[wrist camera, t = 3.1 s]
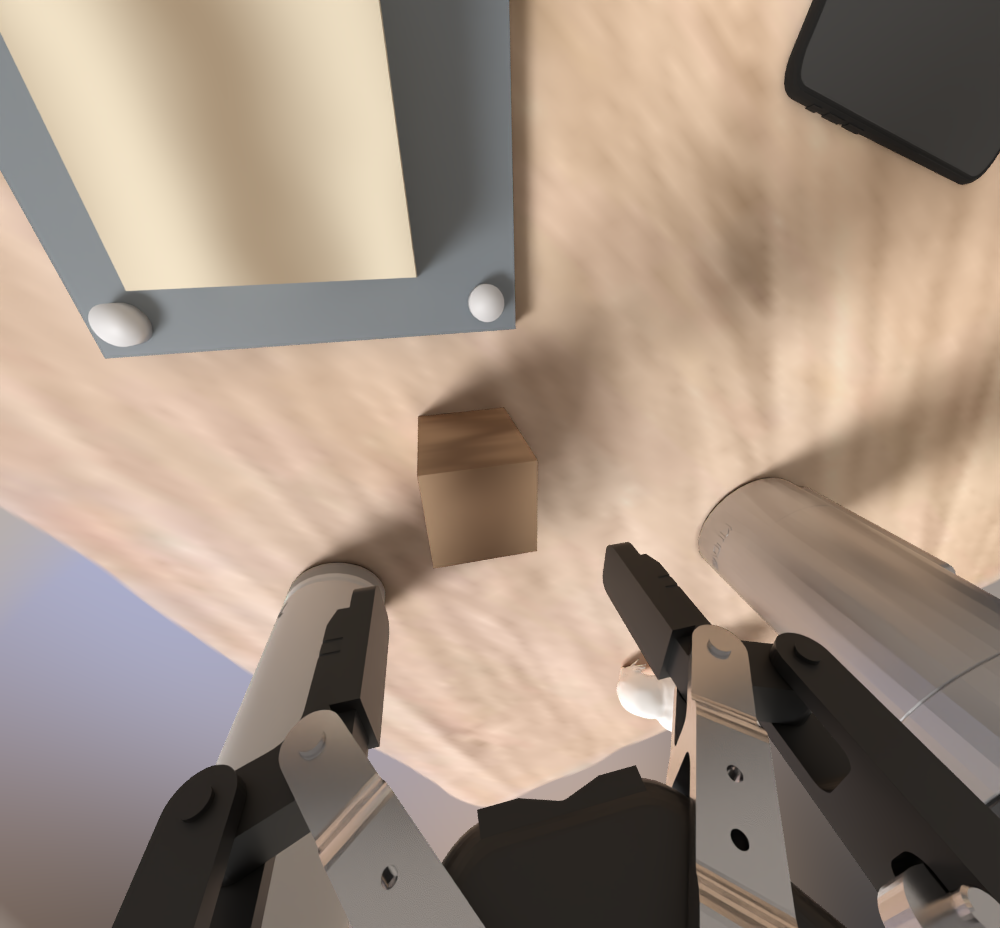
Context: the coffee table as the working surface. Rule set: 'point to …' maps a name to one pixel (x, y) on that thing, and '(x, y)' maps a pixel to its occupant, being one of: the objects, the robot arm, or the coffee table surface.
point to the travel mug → (272, 714)
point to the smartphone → (906, 77)
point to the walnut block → (476, 486)
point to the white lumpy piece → (646, 695)
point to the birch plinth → (223, 135)
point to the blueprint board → (335, 304)
